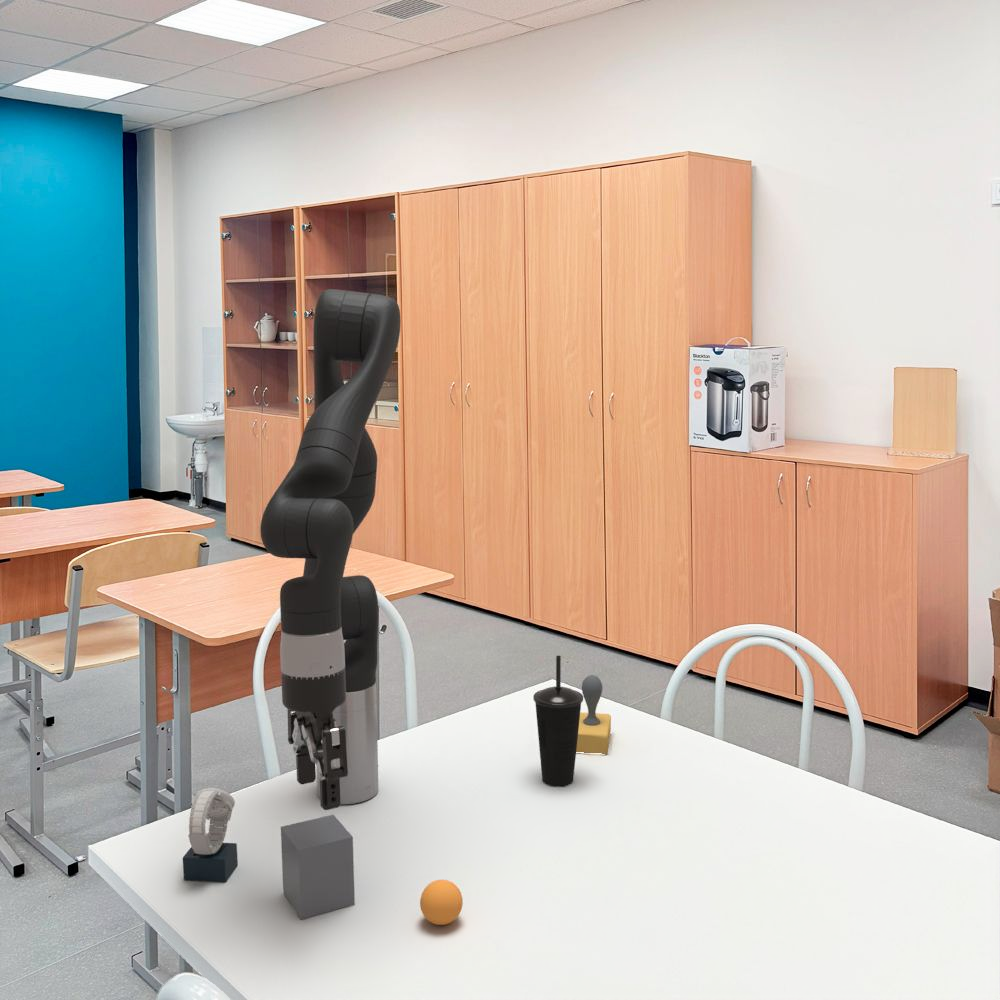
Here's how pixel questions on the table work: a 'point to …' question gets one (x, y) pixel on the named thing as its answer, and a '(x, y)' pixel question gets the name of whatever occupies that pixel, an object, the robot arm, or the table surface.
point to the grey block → (317, 866)
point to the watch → (210, 838)
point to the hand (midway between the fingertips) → (318, 794)
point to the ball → (441, 902)
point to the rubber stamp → (593, 720)
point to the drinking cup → (558, 730)
